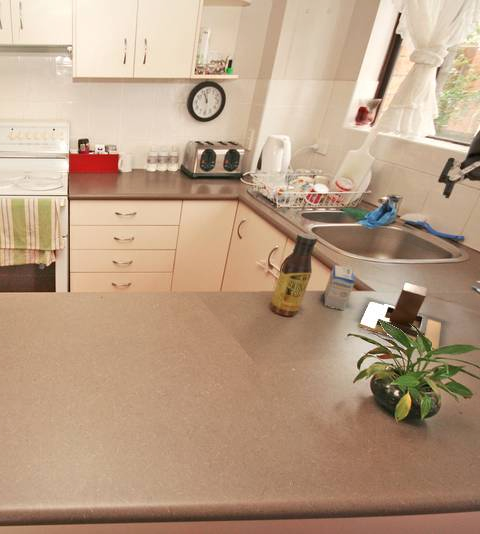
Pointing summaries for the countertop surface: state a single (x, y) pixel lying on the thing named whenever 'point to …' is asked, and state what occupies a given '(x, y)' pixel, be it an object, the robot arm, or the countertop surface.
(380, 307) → the back plate
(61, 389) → the countertop surface
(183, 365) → the countertop surface
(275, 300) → the sauce bottle
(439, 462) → the countertop surface
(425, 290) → the pad block
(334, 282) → the medicine box
